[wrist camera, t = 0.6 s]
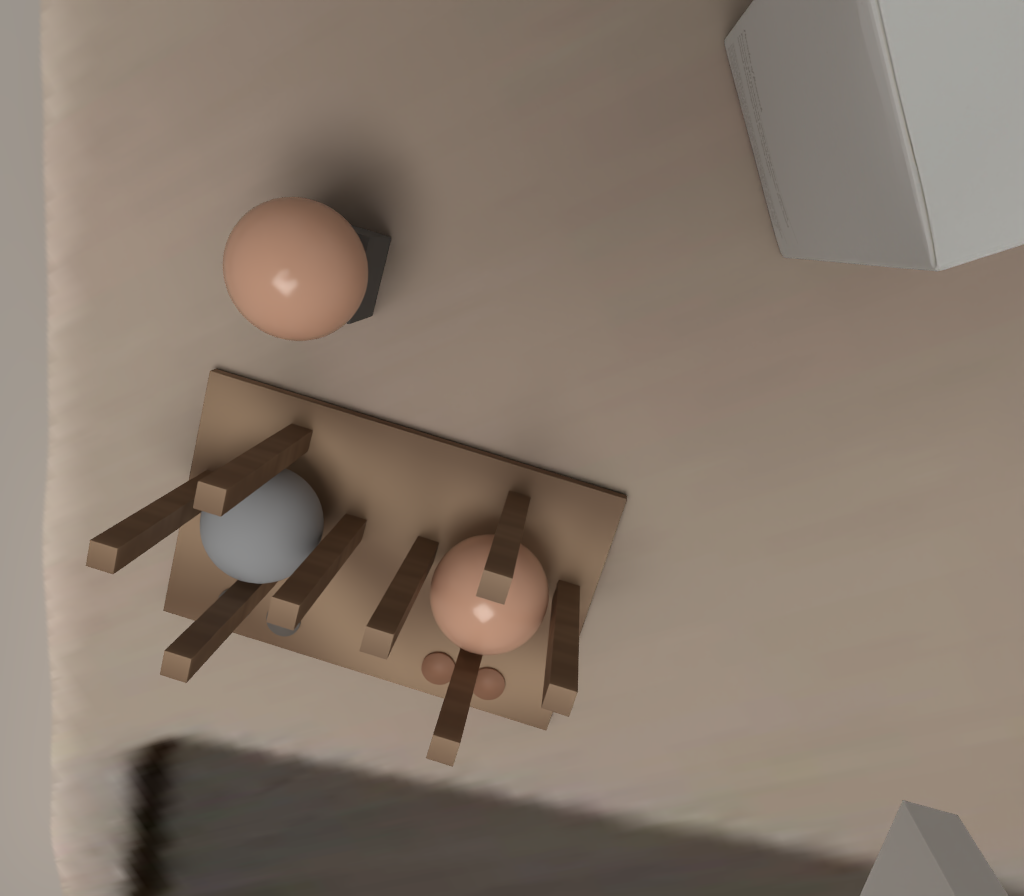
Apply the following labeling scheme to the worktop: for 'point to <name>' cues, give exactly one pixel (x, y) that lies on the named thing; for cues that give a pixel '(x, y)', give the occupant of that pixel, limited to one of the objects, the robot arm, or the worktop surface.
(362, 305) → the stand
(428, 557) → the rack
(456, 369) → the worktop surface
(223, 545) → the ball
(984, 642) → the worktop surface
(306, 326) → the ball loose
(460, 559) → the ball
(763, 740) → the worktop surface
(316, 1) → the worktop surface
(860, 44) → the supplement box
